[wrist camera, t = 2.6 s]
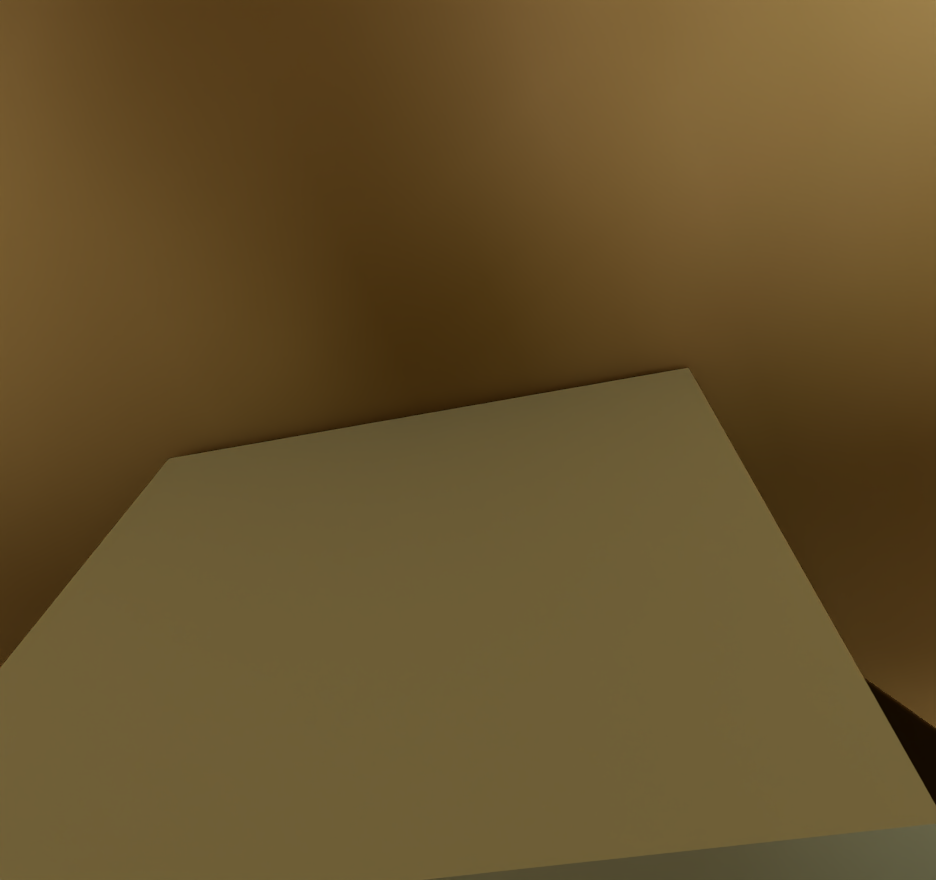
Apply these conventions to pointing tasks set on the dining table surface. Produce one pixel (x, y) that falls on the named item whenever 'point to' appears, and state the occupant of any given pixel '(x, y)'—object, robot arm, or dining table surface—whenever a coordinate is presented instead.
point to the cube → (455, 667)
